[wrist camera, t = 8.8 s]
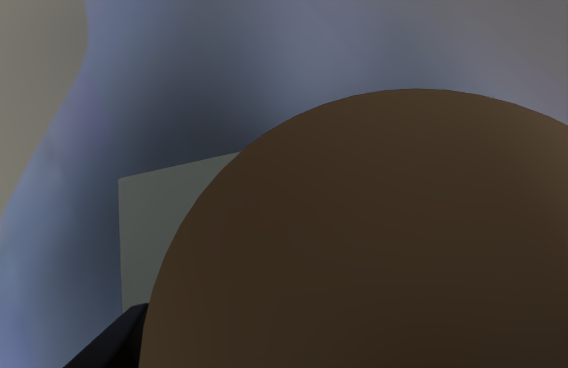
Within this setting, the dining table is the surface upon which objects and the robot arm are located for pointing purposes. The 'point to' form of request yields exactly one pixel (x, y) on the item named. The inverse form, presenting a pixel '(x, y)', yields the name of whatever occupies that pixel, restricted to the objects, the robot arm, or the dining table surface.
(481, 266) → the walnut peg
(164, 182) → the socket block
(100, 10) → the dining table surface
